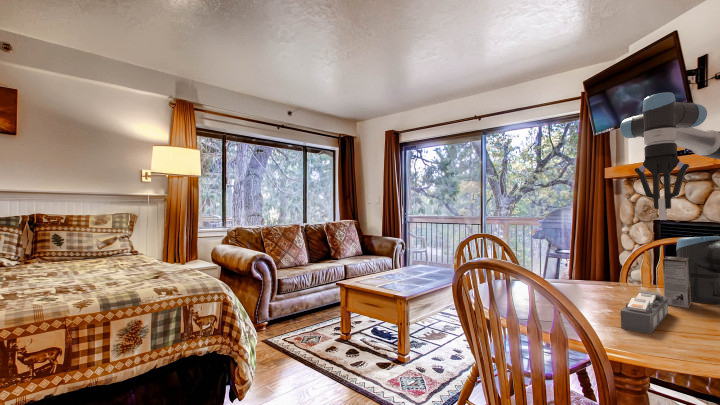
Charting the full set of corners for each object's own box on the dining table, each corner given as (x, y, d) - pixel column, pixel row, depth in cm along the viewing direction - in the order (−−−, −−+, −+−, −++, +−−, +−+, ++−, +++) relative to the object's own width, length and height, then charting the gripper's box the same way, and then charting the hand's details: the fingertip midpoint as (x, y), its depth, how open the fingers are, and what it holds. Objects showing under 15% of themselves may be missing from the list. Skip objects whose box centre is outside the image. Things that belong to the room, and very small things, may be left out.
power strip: (642, 309, 112) (641, 290, 113) (669, 313, 107) (668, 293, 107) (621, 328, 95) (620, 305, 95) (651, 334, 90) (651, 311, 90)
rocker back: (645, 297, 110) (645, 293, 110) (661, 299, 107) (661, 295, 107) (640, 294, 107) (641, 290, 107) (657, 296, 103) (657, 292, 104)
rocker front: (632, 301, 100) (632, 297, 99) (650, 304, 96) (649, 299, 96) (627, 310, 96) (627, 306, 96) (645, 313, 93) (645, 309, 93)
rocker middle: (639, 296, 105) (638, 292, 105) (655, 299, 102) (655, 294, 102) (634, 304, 101) (634, 300, 101) (652, 307, 98) (651, 302, 98)
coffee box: (667, 299, 124) (665, 255, 124) (691, 302, 119) (689, 257, 119) (663, 304, 118) (661, 258, 118) (689, 308, 113) (687, 260, 113)
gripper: (630, 146, 107) (633, 219, 106) (687, 138, 97) (690, 220, 96) (636, 148, 111) (639, 219, 111) (691, 142, 101) (694, 219, 101)
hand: (663, 219), depth 103 cm, fingers closed
